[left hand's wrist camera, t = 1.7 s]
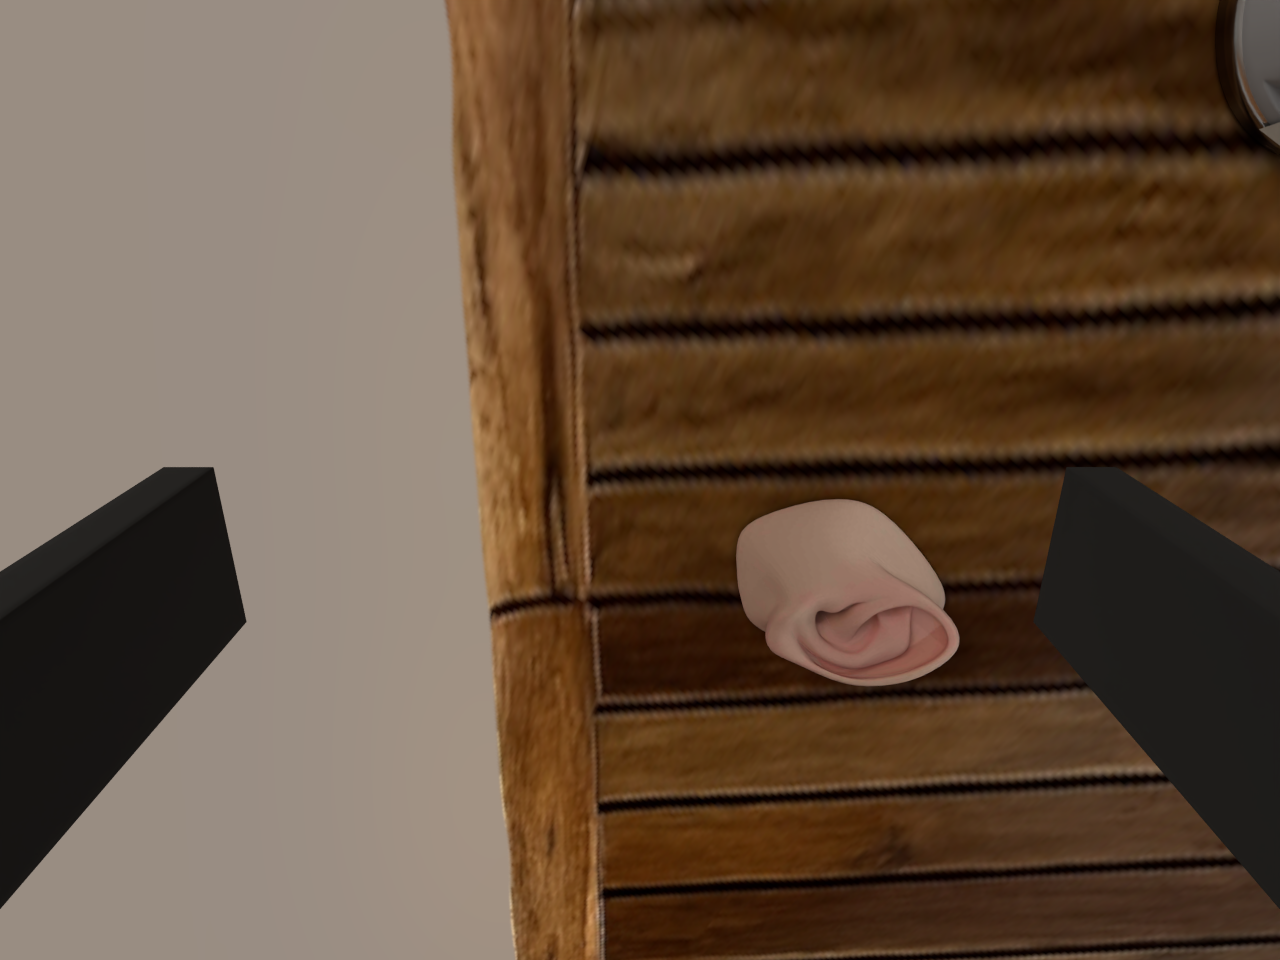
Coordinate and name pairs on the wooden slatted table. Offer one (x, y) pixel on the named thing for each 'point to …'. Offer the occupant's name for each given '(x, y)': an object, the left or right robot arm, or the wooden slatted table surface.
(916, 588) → the anatomical model
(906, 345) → the wooden slatted table surface
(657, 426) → the wooden slatted table surface
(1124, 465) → the wooden slatted table surface
